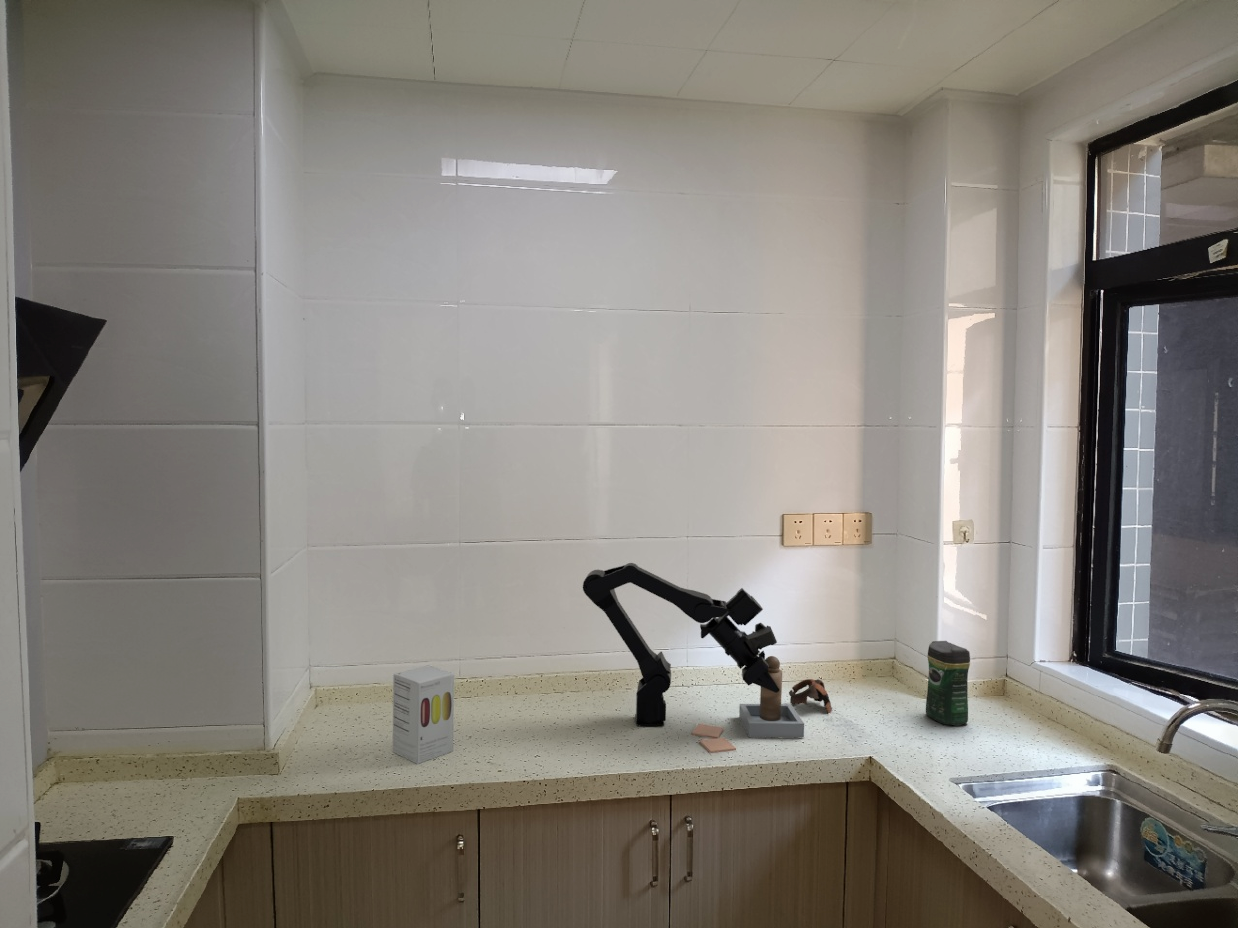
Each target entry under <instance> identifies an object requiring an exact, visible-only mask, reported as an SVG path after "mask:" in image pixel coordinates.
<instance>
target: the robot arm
mask: <svg viewBox="0 0 1238 928" xmlns="http://www.w3.org/2000/svg"><path fill="white" fill-rule="evenodd" d="M627 584H633V585H635V586H636V587H639V588H641V589H643V590H645V591H647V592H649V593H650V594H653V595H654V596H657V597H659V598H661V599H662V600H665V601H667V602H668V603H671V604H673V605H674V606H676V607H677V608H678V609H679V610H680V611H682V612H683V613H684V614H685V615H686V616H688V617H689V618H691V619H692V620H693V621H695V622H696V623H699V624H700V625H699V627H700V628H699V629H700V638H701V639H704V638H706V637H707V636H708V635H710V636H711V637H712V638H713V639H714V640H715V641H716V642H717V644H718V645H719V646H720V647H721V648H722V649H723V650H724V653H725V654H726V655H727V657H730V658H731V659H733V661H734V662H735V663H736V665H737V667H738V668H739V669H740V670H741V677H742V681H744V682H745V684H746V685H747V686H749V687H750V685H752V684H754V685H756V686H759V687H760V688H761V687H764V688H766V689H768V690H771V691H773V692H775V693H777V692H779V691H780V689H779V687H778V686H777V684H776V683H775V681H774V680H773V678H772V677H771V675H770V674H769V672H768V668H769V664H768V661H767V662H766V661H765V659H766V653H765V651H764V650H762V649H763V648H767V647H769V646H774V645H776V644H777V643H778V641H777V638H776V636H775V633H774V632H773V629H772V627H771V626H769V625H764V623H762V622H759V623H757V624H756V623H755V626H754V631H752V632H751V633H749V634H748V633H746V631H743V630H740V629H739V628H738V627H737V626H742V625H743V626H747V625H748V624H749V623H750V622H751V621H753V619H754V618H756V617H757V615H759V614H760V613H761V612H762V611H763V610H764V608H763V607H762V606H761V604H760V603H759V602H758V601H757V599H755V597H754V596H752V595H750V594H749V593H748V592H747V591H746V590H745V589H744V588H743V587H741V588H739V590H738V591H737V592H736V594H735V595H733V596H732V597H731V598H730V599H729V600H728V601H725V600H720V599H716V598H715V599H714V598H712V597H711V596H710V595H709V594H706V593H704V592H700V591H697V590H693V589H688V588H684V587H680V586H678V585H676V584H674V583H672V582H670V581H669V580H666V579H664V578H662V577H660V576H658V575H656V574H654V573H652V572H650V571H648V570H646V569H644V568H642V567H640V566H638V564H636V563H633V562H629V563H626V564H624V565H620V566H617V567H612V568H609V569H605V570H602V569H594V570H592V571H590V572H589V573H588V574H587V576H586V577H585V579H584V580H583V582H582V591H583V592H584V594H585V596H587V597H588V599H589V600H590V601H591V602H592V603H593V604H594V605H595V606H596V607H598V608H599V609H600V610H601V611H602V612H604V613H605V615H606V617H607V618H608V620H609V621H610V623H611V624H612V626H613V627H614V629H615V630H616V631H617V633H618V635H619V636H620V638H621V639H622V641H623V642H624V643H625V645H626V646H627V648H628V650H629V651H630V653H631V654H632V656H633V657H634V659H635V661H636V663H637V664H638V667H639V670H640V671H639V672H640V674H641V676H642V678H640V679H639V680H638V684H637V690H636V693H635V694H636V696H635V697H636V698H635V699H636V700H635V714H634V719H635V725H636V726H637V727H664V726H665V721H666V720H667V719H666V717H667V701H666V699H665V698H664V693H666V692H667V691H668V690H669V689H670V687H671V685H672V684H671V683H672V671H671V663H670V662H669V661H668V660H667V659H666V657H665V654H664V653H663V651H659V652H658V653H656V652H654V651H653V650H652V648H651V647H650V646H649V645H648V643H647V642H646V640H645V639H644V637H643V635H642V634H641V633H640V632H639V629H638V628H637V627H636V625H635V624H634V622H633V621H632V619H631V618H630V616H629V615H628V613H627V612H626V610H625V609H624V607H623V606H622V604H621V603H620V601H619V599H618V596H617V593H616V590H615V589H617V588H619V587H622V586H624V585H627ZM730 618H731V619H730ZM705 623H706V624H705ZM760 650H762V651H760Z"/></svg>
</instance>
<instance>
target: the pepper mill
mask: <svg viewBox="0 0 1238 928" xmlns="http://www.w3.org/2000/svg"><path fill="white" fill-rule="evenodd" d="M765 661H766V662H767V661H768V664H769V668H768V672H769V674H770V675H771V677H772V678H773V680H774V681H775V683H776V684H777V686H778V687H779V689H780V691H779V692H777V693H775V692H773V691H771V690H768V689H766V688H764V687H761V686H760V693H759V694H760V695H759V696H760V697H759V698H760V699H759V704H760V718H761V719H763V720H766V721H779V720H780V719H781V704H782V693H783V692H782V690H783V670H781V669H780V667H781V662H780V660H779V658H778V657H776V656H773V655H771V656H767V657H765Z"/></svg>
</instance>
